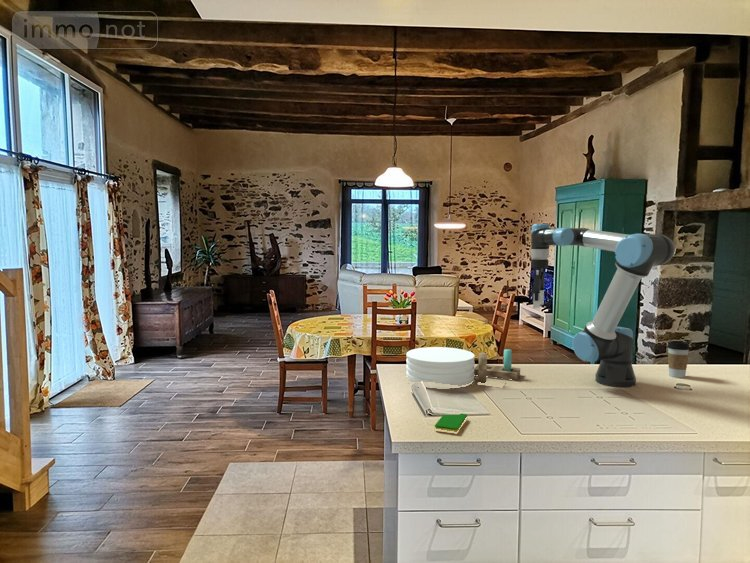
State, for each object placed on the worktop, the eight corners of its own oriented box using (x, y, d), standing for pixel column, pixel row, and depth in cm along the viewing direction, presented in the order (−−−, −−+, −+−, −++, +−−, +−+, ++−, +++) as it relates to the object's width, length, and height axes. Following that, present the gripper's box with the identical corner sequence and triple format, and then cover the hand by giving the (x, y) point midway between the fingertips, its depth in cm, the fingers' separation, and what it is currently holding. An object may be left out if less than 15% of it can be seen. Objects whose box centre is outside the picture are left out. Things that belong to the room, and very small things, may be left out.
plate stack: (397, 375, 223) (397, 349, 222) (456, 370, 230) (457, 345, 229) (420, 393, 196) (420, 364, 195) (486, 388, 203) (486, 359, 202)
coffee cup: (668, 378, 217) (670, 343, 215) (663, 373, 225) (665, 339, 223) (691, 379, 214) (692, 344, 213) (685, 374, 222) (687, 340, 221)
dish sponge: (467, 421, 167) (467, 413, 166) (457, 436, 154) (457, 428, 154) (445, 418, 169) (446, 411, 169) (434, 432, 157) (434, 425, 156)
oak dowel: (487, 382, 209) (487, 353, 208) (485, 384, 206) (485, 354, 205) (479, 381, 210) (479, 352, 209) (477, 383, 207) (477, 354, 206)
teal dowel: (511, 377, 218) (512, 349, 217) (510, 379, 215) (511, 351, 214) (504, 376, 219) (504, 348, 218) (502, 378, 216) (503, 350, 215)
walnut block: (520, 376, 220) (520, 368, 219) (516, 382, 211) (516, 373, 210) (478, 371, 227) (478, 363, 227) (472, 377, 218) (473, 369, 218)
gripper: (534, 257, 240) (533, 302, 242) (526, 259, 217) (525, 309, 219) (551, 257, 237) (550, 303, 238) (545, 259, 214) (543, 310, 216)
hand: (538, 306), depth 229 cm, fingers open, 13 cm apart
